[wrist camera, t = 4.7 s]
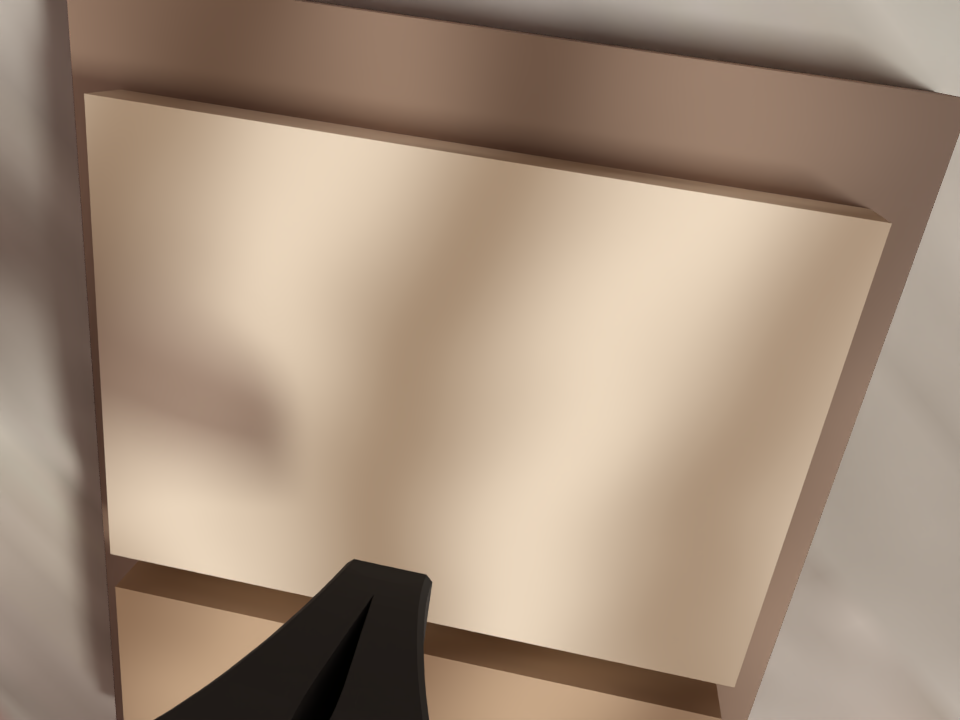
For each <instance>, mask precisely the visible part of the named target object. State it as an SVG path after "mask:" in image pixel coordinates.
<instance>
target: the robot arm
mask: <svg viewBox="0 0 960 720" xmlns="http://www.w3.org/2000/svg"><path fill="white" fill-rule="evenodd" d="M431 589H432V581H431V579H430V578H429V577H428V576H427V574H422V573H417V572H413V571H408V570H403V569H399V568H394V567H389V566H385V565H380V564H375V563H371V562H366V561H361V560H357V559H353V560H351V561H350V562H348V563H346V565H345V566H344V567H343V568H342V569H341V570H340V571H339V572H338V573H337V574H336V575H335V576H334V577H333V578H332V579H331V580H330V581H329V582H328V583H327V584H326V585H325V586H324V587H323V588H322V589H321V590H320V591H319V592H318V593H317V594H316V595H315V596H314V597H313V598H312V599H311V600H310V601H309V602H308V603H307V604H305V605H304V606H303V607H302V608H301V609H300V610H299V611H298V612H297V613H296V614H295V615H293V616H292V617H291V618H290V619H289V620H288V621H287V622H285V623H284V624H283V625H282V626H281V627H280V628H279V629H278V630H276V631H275V632H274V633H273V634H272V635H271V636H270V637H268V638H267V639H266V640H265V641H264V642H262V643H261V644H260V645H259V646H257V647H256V648H255V649H254V650H252V651H251V652H250V653H249V654H247V655H246V656H245V657H243V658H242V659H241V660H240V661H238V662H237V663H236V664H235V665H233V666H232V667H231V668H230V669H228V670H227V671H226V672H224V673H223V674H222V675H220V676H219V677H217V678H216V679H215V680H213V681H212V682H211V683H209V684H208V685H206V686H205V687H203V688H202V689H201V690H199V691H198V692H196V693H195V694H193V695H192V696H190V697H189V698H187V699H186V700H184V701H183V702H181V703H180V704H178V705H177V706H175V707H174V708H172V709H171V710H169V711H167V712H166V713H164V714H162V715H161V716H159V717H157V718H156V719H154V720H429V714H428V706H427V697H426V686H425V670H424V638H425V631H426V624H427V617H428V610H429V603H430V596H431Z"/></svg>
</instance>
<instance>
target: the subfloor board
mask: <svg viewBox="0 0 960 720" xmlns="http://www.w3.org/2000/svg"><path fill="white" fill-rule="evenodd" d="M67 9H68V24H69V38H70V53H71V67H72V82H73V96H74V110H75V125H76V139H77V154H78V168H79V183H80V197H81V212H82V226H83V241H84V255H85V270H86V284H87V299H88V313H89V328H90V342H91V357H92V371H93V385H94V400H95V414H96V429H97V443H98V458H99V472H100V487H101V501H102V516H103V530H104V545H105V559H106V574H107V588H108V603H109V617H110V632H111V646H112V660H113V675H114V689H115V704H116V718H117V720H154V719H156V718H157V717H159V716H161V715H162V714H164V713H166V712H167V711H169V710H171V709H172V708H174V707H175V706H177V705H178V704H180V703H181V702H183V701H184V700H186V699H187V698H189V697H190V696H192V695H193V694H195V693H196V692H198V691H199V690H201V689H202V688H203V687H205V686H206V685H208V684H209V683H211V682H212V681H213V680H215V679H216V678H217V677H219V676H220V675H222V674H223V673H224V672H226V671H227V670H228V669H230V668H231V667H232V666H233V665H235V664H236V663H237V662H238V661H240V660H241V659H242V658H243V657H245V656H246V655H247V654H249V653H250V652H251V651H252V650H254V649H255V648H256V647H257V646H259V645H260V644H261V643H262V642H264V641H265V640H266V639H267V638H268V637H270V636H271V635H272V634H273V633H274V632H275V631H276V630H278V629H279V628H280V627H281V626H282V625H283V624H284V623H285V622H287V621H288V620H289V619H290V618H291V617H292V616H293V615H295V614H296V613H297V612H298V611H299V610H300V609H301V608H302V607H303V606H304V605H305V604H307V603H308V602H309V601H310V600H311V599H312V598H313V597H309V596H305V595H300V594H295V593H291V592H286V591H281V590H277V589H272V588H267V587H263V586H258V585H253V584H249V583H244V582H239V581H235V580H230V579H225V578H221V577H216V576H211V575H207V574H202V573H197V572H193V571H188V570H183V569H179V568H174V567H169V566H165V565H160V564H155V563H151V562H146V561H141V560H137V559H132V558H127V557H123V556H118V555H113V554H110V538H109V520H108V503H107V485H106V468H105V450H104V433H103V415H102V398H101V380H100V363H99V346H98V328H97V311H96V293H95V276H94V258H93V241H92V223H91V206H90V188H89V171H88V153H87V136H86V118H85V101H84V93H94V92H103V91H112V90H128V91H134V92H140V93H146V94H153V95H159V96H165V97H171V98H178V99H184V100H190V101H197V102H203V103H209V104H215V105H222V106H228V107H234V108H240V109H247V110H253V111H259V112H265V113H272V114H278V115H284V116H291V117H297V118H303V119H309V120H316V121H322V122H328V123H334V124H341V125H347V126H353V127H359V128H366V129H372V130H378V131H385V132H391V133H397V134H403V135H410V136H416V137H422V138H428V139H435V140H441V141H447V142H454V143H460V144H466V145H472V146H479V147H485V148H491V149H497V150H504V151H510V152H516V153H522V154H529V155H535V156H541V157H548V158H554V159H560V160H566V161H573V162H579V163H585V164H591V165H598V166H604V167H610V168H616V169H623V170H629V171H635V172H642V173H648V174H654V175H660V176H667V177H673V178H679V179H685V180H692V181H698V182H704V183H711V184H717V185H723V186H729V187H736V188H742V189H748V190H754V191H761V192H767V193H773V194H779V195H786V196H792V197H798V198H805V199H811V200H817V201H823V202H830V203H836V204H842V205H848V206H855V207H861V208H867V209H871V210H873V211H874V212H876V213H877V214H879V215H880V216H882V217H883V218H885V219H886V220H888V221H889V222H891V223H892V225H891V227H890V230H889V233H888V236H887V239H886V242H885V245H884V248H883V251H882V254H881V257H880V260H879V263H878V266H877V269H876V272H875V275H874V278H873V281H872V283H871V286H870V289H869V292H868V295H867V298H866V301H865V304H864V307H863V310H862V313H861V316H860V319H859V322H858V325H857V328H856V331H855V334H854V337H853V339H852V342H851V345H850V348H849V351H848V354H847V357H846V360H845V363H844V366H843V369H842V372H841V375H840V378H839V381H838V384H837V387H836V390H835V393H834V395H833V398H832V401H831V404H830V407H829V410H828V413H827V416H826V419H825V422H824V425H823V428H822V431H821V434H820V437H819V440H818V443H817V446H816V449H815V451H814V454H813V457H812V460H811V463H810V466H809V469H808V472H807V475H806V478H805V481H804V484H803V487H802V490H801V493H800V496H799V499H798V502H797V505H796V507H795V510H794V513H793V516H792V519H791V522H790V525H789V528H788V531H787V534H786V537H785V540H784V543H783V546H782V549H781V552H780V555H779V558H778V561H777V563H776V566H775V569H774V572H773V575H772V578H771V581H770V584H769V587H768V590H767V593H766V596H765V599H764V602H763V605H762V608H761V611H760V614H759V617H758V619H757V622H756V625H755V628H754V631H753V634H752V637H751V640H750V643H749V646H748V649H747V652H746V655H745V658H744V661H743V664H742V667H741V670H740V673H739V675H738V678H737V681H736V684H735V687H730V686H725V685H721V684H716V683H711V682H707V681H702V680H697V679H692V678H688V677H683V676H678V675H674V674H669V673H664V672H660V671H655V670H650V669H646V668H641V667H636V666H632V665H627V664H622V663H618V662H613V661H608V660H604V659H599V658H594V657H590V656H585V655H580V654H576V653H571V652H566V651H562V650H557V649H552V648H548V647H543V646H538V645H534V644H529V643H524V642H520V641H515V640H510V639H506V638H501V637H496V636H492V635H487V634H482V633H478V632H473V631H468V630H464V629H459V628H454V627H450V626H445V625H440V624H436V623H431V622H427V624H426V631H425V638H424V670H425V686H426V697H427V706H428V714H429V720H747V719H748V717H749V714H750V711H751V708H752V706H753V703H754V700H755V697H756V695H757V692H758V689H759V686H760V684H761V681H762V678H763V675H764V672H765V670H766V667H767V664H768V661H769V659H770V656H771V653H772V650H773V648H774V645H775V642H776V639H777V637H778V634H779V631H780V628H781V626H782V623H783V620H784V617H785V614H786V612H787V609H788V606H789V603H790V601H791V598H792V595H793V592H794V590H795V587H796V584H797V581H798V579H799V576H800V573H801V570H802V567H803V565H804V562H805V559H806V556H807V554H808V551H809V548H810V545H811V543H812V540H813V537H814V534H815V532H816V529H817V526H818V523H819V520H820V518H821V515H822V512H823V509H824V507H825V504H826V501H827V498H828V496H829V493H830V490H831V487H832V485H833V482H834V479H835V476H836V474H837V471H838V468H839V465H840V462H841V460H842V457H843V454H844V451H845V449H846V446H847V443H848V440H849V438H850V435H851V432H852V429H853V427H854V424H855V421H856V418H857V415H858V413H859V410H860V407H861V404H862V402H863V399H864V396H865V393H866V391H867V388H868V385H869V382H870V380H871V377H872V374H873V371H874V369H875V366H876V363H877V360H878V357H879V355H880V352H881V349H882V346H883V344H884V341H885V338H886V335H887V333H888V330H889V327H890V324H891V322H892V319H893V316H894V313H895V310H896V308H897V305H898V302H899V299H900V297H901V294H902V291H903V288H904V286H905V283H906V280H907V277H908V275H909V272H910V269H911V266H912V264H913V261H914V258H915V255H916V252H917V250H918V247H919V244H920V241H921V239H922V236H923V233H924V230H925V228H926V225H927V222H928V219H929V217H930V214H931V211H932V208H933V205H934V203H935V200H936V197H937V194H938V192H939V189H940V186H941V183H942V181H943V178H944V175H945V172H946V170H947V167H948V164H949V161H950V159H951V156H952V153H953V150H954V147H955V145H956V142H957V139H958V136H959V134H960V97H957V96H952V95H947V94H942V93H937V92H930V91H923V90H917V89H910V88H903V87H896V86H889V85H882V84H875V83H869V82H862V81H855V80H848V79H841V78H834V77H827V76H821V75H814V74H807V73H800V72H793V71H786V70H779V69H773V68H766V67H759V66H752V65H745V64H738V63H732V62H725V61H718V60H711V59H704V58H697V57H690V56H684V55H677V54H670V53H663V52H656V51H649V50H642V49H636V48H629V47H622V46H615V45H608V44H601V43H595V42H588V41H581V40H574V39H567V38H560V37H553V36H547V35H540V34H533V33H526V32H519V31H512V30H505V29H499V28H492V27H485V26H478V25H471V24H464V23H458V22H451V21H444V20H437V19H430V18H423V17H416V16H410V15H403V14H396V13H389V12H382V11H375V10H368V9H362V8H355V7H348V6H341V5H334V4H327V3H321V2H314V1H307V0H67Z"/></svg>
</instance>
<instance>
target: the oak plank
mask: <svg viewBox="0 0 960 720" xmlns="http://www.w3.org/2000/svg"><path fill="white" fill-rule="evenodd" d="M84 101H85V118H86V136H87V153H88V171H89V188H90V206H91V223H92V241H93V258H94V276H95V293H96V311H97V328H98V346H99V363H100V380H101V398H102V415H103V433H104V450H105V468H106V485H107V503H108V520H109V538H110V554H113V555H118V556H123V557H127V558H132V559H137V560H141V561H146V562H151V563H155V564H160V565H165V566H169V567H174V568H179V569H183V570H188V571H193V572H197V573H202V574H207V575H211V576H216V577H221V578H225V579H230V580H235V581H239V582H244V583H249V584H253V585H258V586H263V587H267V588H272V589H277V590H281V591H286V592H291V593H295V594H300V595H305V596H309V597H314V596H315V595H316V594H317V593H318V592H319V591H320V590H321V589H322V588H323V587H324V586H325V585H326V584H327V583H328V582H329V581H330V580H331V579H332V578H333V577H334V576H335V575H336V574H337V573H338V572H339V571H340V570H341V569H342V568H343V567H344V566H345V565H346V563H348V562H350V561H351V560H353V559H357V560H361V561H366V562H371V563H375V564H380V565H385V566H389V567H394V568H399V569H403V570H408V571H413V572H417V573H422V574H427V576H428V577H429V578H430V579H431V581H432V589H431V596H430V603H429V610H428V617H427V622H431V623H436V624H440V625H445V626H450V627H454V628H459V629H464V630H468V631H473V632H478V633H482V634H487V635H492V636H496V637H501V638H506V639H510V640H515V641H520V642H524V643H529V644H534V645H538V646H543V647H548V648H552V649H557V650H562V651H566V652H571V653H576V654H580V655H585V656H590V657H594V658H599V659H604V660H608V661H613V662H618V663H622V664H627V665H632V666H636V667H641V668H646V669H650V670H655V671H660V672H664V673H669V674H674V675H678V676H683V677H688V678H692V679H697V680H702V681H707V682H711V683H716V684H721V685H725V686H730V687H735V684H736V681H737V678H738V675H739V673H740V670H741V667H742V664H743V661H744V658H745V655H746V652H747V649H748V646H749V643H750V640H751V637H752V634H753V631H754V628H755V625H756V622H757V619H758V617H759V614H760V611H761V608H762V605H763V602H764V599H765V596H766V593H767V590H768V587H769V584H770V581H771V578H772V575H773V572H774V569H775V566H776V563H777V561H778V558H779V555H780V552H781V549H782V546H783V543H784V540H785V537H786V534H787V531H788V528H789V525H790V522H791V519H792V516H793V513H794V510H795V507H796V505H797V502H798V499H799V496H800V493H801V490H802V487H803V484H804V481H805V478H806V475H807V472H808V469H809V466H810V463H811V460H812V457H813V454H814V451H815V449H816V446H817V443H818V440H819V437H820V434H821V431H822V428H823V425H824V422H825V419H826V416H827V413H828V410H829V407H830V404H831V401H832V398H833V395H834V393H835V390H836V387H837V384H838V381H839V378H840V375H841V372H842V369H843V366H844V363H845V360H846V357H847V354H848V351H849V348H850V345H851V342H852V339H853V337H854V334H855V331H856V328H857V325H858V322H859V319H860V316H861V313H862V310H863V307H864V304H865V301H866V298H867V295H868V292H869V289H870V286H871V283H872V281H873V278H874V275H875V272H876V269H877V266H878V263H879V260H880V257H881V254H882V251H883V248H884V245H885V242H886V239H887V236H888V233H889V230H890V227H891V225H892V223H891V222H889V221H888V220H886V219H885V218H883V217H882V216H880V215H879V214H877V213H876V212H874V211H873V210H871V209H867V208H861V207H855V206H848V205H842V204H836V203H830V202H823V201H817V200H811V199H805V198H798V197H792V196H786V195H779V194H773V193H767V192H761V191H754V190H748V189H742V188H736V187H729V186H723V185H717V184H711V183H704V182H698V181H692V180H685V179H679V178H673V177H667V176H660V175H654V174H648V173H642V172H635V171H629V170H623V169H616V168H610V167H604V166H598V165H591V164H585V163H579V162H573V161H566V160H560V159H554V158H548V157H541V156H535V155H529V154H522V153H516V152H510V151H504V150H497V149H491V148H485V147H479V146H472V145H466V144H460V143H454V142H447V141H441V140H435V139H428V138H422V137H416V136H410V135H403V134H397V133H391V132H385V131H378V130H372V129H366V128H359V127H353V126H347V125H341V124H334V123H328V122H322V121H316V120H309V119H303V118H297V117H291V116H284V115H278V114H272V113H265V112H259V111H253V110H247V109H240V108H234V107H228V106H222V105H215V104H209V103H203V102H197V101H190V100H184V99H178V98H171V97H165V96H159V95H153V94H146V93H140V92H134V91H128V90H112V91H103V92H94V93H84Z"/></svg>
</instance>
